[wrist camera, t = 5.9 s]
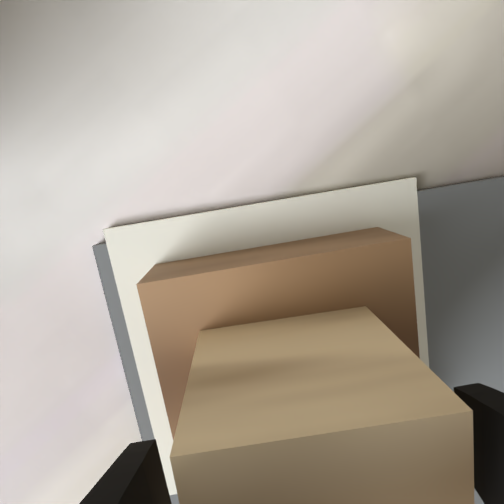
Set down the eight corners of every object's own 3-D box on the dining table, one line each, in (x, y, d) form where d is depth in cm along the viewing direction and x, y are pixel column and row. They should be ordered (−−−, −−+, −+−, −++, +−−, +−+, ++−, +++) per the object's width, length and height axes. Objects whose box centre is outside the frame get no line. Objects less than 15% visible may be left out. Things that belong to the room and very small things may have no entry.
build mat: (534, 564, 17) (542, 574, 16) (193, 625, 17) (192, 637, 16) (533, 157, 13) (542, 156, 13) (93, 230, 13) (88, 231, 13)
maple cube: (377, 450, 12) (476, 640, 7) (225, 474, 12) (217, 683, 7) (365, 306, 11) (473, 410, 6) (199, 330, 11) (169, 456, 6)
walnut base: (395, 423, 15) (428, 472, 12) (198, 457, 14) (190, 514, 12) (377, 226, 13) (410, 238, 11) (155, 264, 13) (136, 284, 10)
